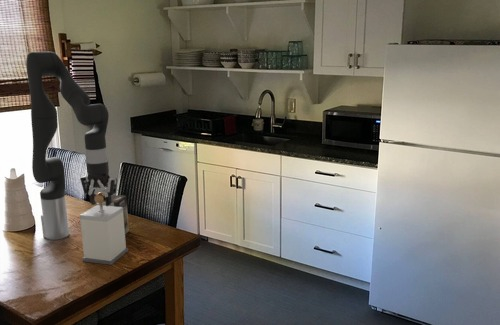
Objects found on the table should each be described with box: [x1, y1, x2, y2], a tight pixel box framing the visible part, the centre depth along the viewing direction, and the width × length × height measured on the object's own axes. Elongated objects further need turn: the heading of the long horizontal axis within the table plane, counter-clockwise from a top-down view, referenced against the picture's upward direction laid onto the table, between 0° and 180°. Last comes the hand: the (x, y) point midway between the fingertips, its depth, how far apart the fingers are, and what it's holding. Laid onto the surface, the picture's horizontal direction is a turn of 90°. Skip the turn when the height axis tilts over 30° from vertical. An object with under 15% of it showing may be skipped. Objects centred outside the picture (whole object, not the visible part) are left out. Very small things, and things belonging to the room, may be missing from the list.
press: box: [79, 204, 129, 266], centre depth 177 cm, size 12×15×18 cm
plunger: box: [94, 191, 106, 212], centre depth 174 cm, size 4×4×20 cm
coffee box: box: [103, 194, 130, 235], centre depth 195 cm, size 9×6×16 cm
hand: (101, 204), depth 172 cm, fingers open, 5 cm apart
